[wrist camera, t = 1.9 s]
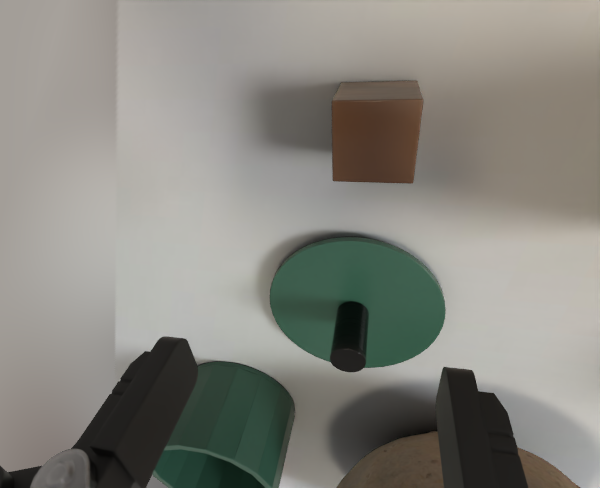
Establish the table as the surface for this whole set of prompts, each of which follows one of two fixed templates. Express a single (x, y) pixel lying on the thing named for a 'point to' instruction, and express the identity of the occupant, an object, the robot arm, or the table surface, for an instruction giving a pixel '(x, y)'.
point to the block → (376, 131)
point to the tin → (229, 431)
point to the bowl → (432, 467)
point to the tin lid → (357, 303)
